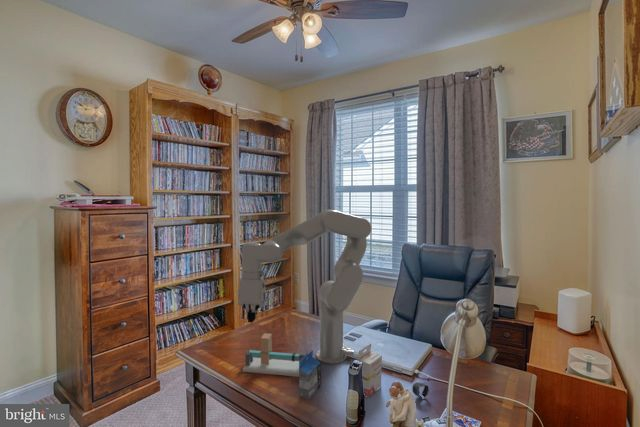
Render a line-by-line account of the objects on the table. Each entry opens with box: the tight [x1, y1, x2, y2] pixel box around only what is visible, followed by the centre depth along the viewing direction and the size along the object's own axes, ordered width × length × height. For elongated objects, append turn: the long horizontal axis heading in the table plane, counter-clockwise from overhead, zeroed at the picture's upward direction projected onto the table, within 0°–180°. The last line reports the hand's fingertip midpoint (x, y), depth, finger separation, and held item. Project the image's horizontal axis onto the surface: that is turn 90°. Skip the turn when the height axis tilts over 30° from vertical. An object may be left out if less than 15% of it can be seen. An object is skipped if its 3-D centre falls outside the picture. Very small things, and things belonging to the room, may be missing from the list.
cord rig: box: [242, 349, 309, 377], centre depth 127 cm, size 24×9×7 cm, turn 81°
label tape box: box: [298, 350, 322, 400], centre depth 112 cm, size 9×4×12 cm, turn 151°
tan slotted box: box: [260, 332, 273, 365], centre depth 128 cm, size 3×4×10 cm
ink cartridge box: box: [357, 343, 383, 398], centre depth 113 cm, size 9×5×15 cm, turn 141°
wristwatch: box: [412, 382, 430, 399], centre depth 108 cm, size 3×5×5 cm, turn 103°
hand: (251, 321), depth 128 cm, fingers closed
